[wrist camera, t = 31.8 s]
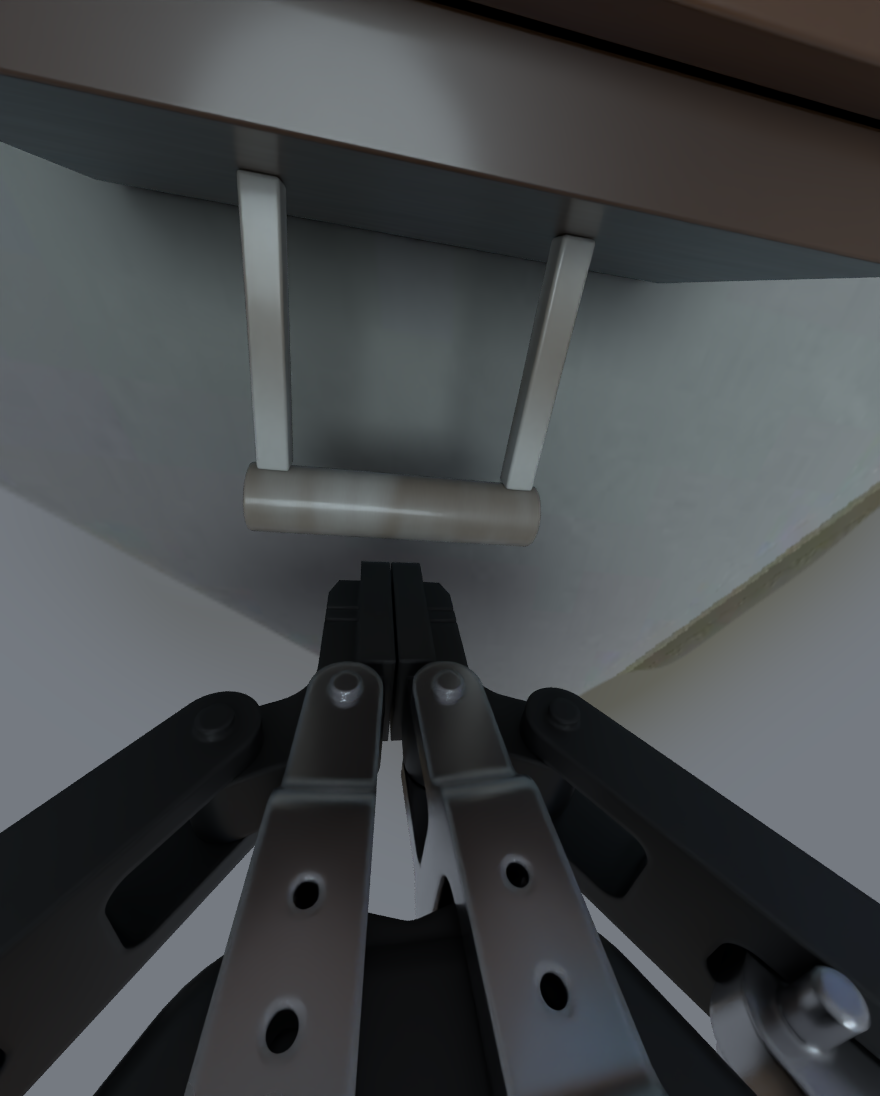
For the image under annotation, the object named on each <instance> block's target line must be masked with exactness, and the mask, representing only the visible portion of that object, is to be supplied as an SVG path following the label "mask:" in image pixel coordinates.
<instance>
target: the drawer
mask: <svg viewBox="0 0 880 1096" xmlns="http://www.w3.org/2000/svg"><path fill="white" fill-rule="evenodd" d="M787 94H789V93H785V92H782V91H779V90H775V89H772V88H768V87H765V86H761V85H758V84H754V83H751V82H748V81H744V80H741V79H737V78H734V77H730V76H727V75H724V74H720V73H717V72H713V71H710V70H706V69H703V68H699V67H696V66H693V65H689V64H686V63H682V62H679V61H675V60H672V59H668V58H665V57H662V56H658V55H655V54H651V53H648V52H644V51H641V50H637V49H634V48H631V47H627V46H624V45H620V44H617V43H613V42H610V41H607V40H603V39H600V38H596V37H593V36H589V35H586V34H582V33H579V32H576V31H572V30H569V29H565V28H562V27H558V26H555V25H551V24H548V23H545V22H541V21H538V20H534V19H531V18H527V17H524V16H520V15H517V14H514V13H510V12H507V11H503V10H500V9H496V8H493V7H490V6H486V5H483V4H479V3H476V2H472V1H469V0H0V141H1V142H3V143H6V144H8V145H11V146H13V147H16V148H18V149H21V150H23V151H26V152H28V153H31V154H33V155H36V156H38V157H41V158H43V159H46V160H48V161H51V162H53V163H56V164H58V165H61V166H63V167H66V168H68V169H71V170H73V171H76V172H78V173H81V174H83V175H86V176H88V177H91V178H93V179H96V180H101V181H107V182H112V183H117V184H123V185H128V186H134V187H139V188H145V189H150V190H155V191H161V192H166V193H172V194H177V195H183V196H188V197H193V198H199V199H204V200H210V201H215V202H221V203H226V204H231V205H237V206H239V219H240V233H241V247H242V262H243V276H244V291H245V305H246V319H247V334H248V348H249V363H250V377H251V391H252V406H253V420H254V435H255V449H256V462H252V463H251V464H250V465H249V467H248V469H247V472H246V476H245V481H244V488H243V511H244V518H245V522H246V525H247V527H248V529H249V530H252V531H264V532H281V533H298V534H316V535H333V536H350V537H368V538H385V539H402V540H420V541H437V542H454V543H471V544H489V545H506V546H523V547H526V546H529V545H530V544H532V542H533V541H534V539H535V537H536V535H537V532H538V529H539V524H540V516H541V504H540V497H539V494H538V491H537V490H536V488H535V487H533V483H534V479H535V475H536V471H537V467H538V463H539V459H540V456H541V452H542V448H543V444H544V440H545V436H546V432H547V428H548V425H549V421H550V417H551V413H552V409H553V405H554V401H555V398H556V394H557V390H558V386H559V382H560V378H561V374H562V370H563V367H564V363H565V359H566V355H567V351H568V347H569V343H570V339H571V336H572V332H573V328H574V324H575V320H576V316H577V312H578V309H579V305H580V301H581V297H582V293H583V289H584V285H585V281H586V278H587V274H588V270H589V271H595V272H600V273H606V274H611V275H617V276H622V277H627V278H633V279H638V280H644V281H649V282H655V283H678V282H715V281H753V280H790V279H828V278H865V277H880V129H877V128H873V127H870V126H866V125H863V124H859V123H856V122H852V121H849V120H845V119H842V118H838V117H835V116H831V115H828V114H824V113H821V112H817V111H814V110H810V109H807V108H803V107H800V106H796V105H793V104H789V103H786V102H782V101H779V100H776V99H779V98H781V97H783V96H785V95H787ZM287 215H291V216H296V217H302V218H307V219H313V220H318V221H324V222H329V223H334V224H340V225H345V226H351V227H356V228H362V229H367V230H372V231H378V232H383V233H389V234H394V235H400V236H405V237H410V238H416V239H421V240H427V241H432V242H438V243H443V244H448V245H454V246H459V247H465V248H470V249H476V250H481V251H486V252H492V253H497V254H503V255H508V256H513V257H519V258H524V259H530V260H535V261H541V262H546V263H547V265H546V270H545V275H544V279H543V284H542V288H541V293H540V298H539V302H538V307H537V311H536V316H535V321H534V325H533V330H532V334H531V339H530V343H529V348H528V353H527V357H526V362H525V366H524V371H523V376H522V380H521V385H520V389H519V394H518V399H517V403H516V408H515V412H514V417H513V422H512V426H511V431H510V435H509V440H508V445H507V449H506V454H505V458H504V463H503V468H502V472H501V477H500V479H501V481H502V483H498V482H486V481H474V480H462V479H451V478H439V477H427V476H415V475H404V474H392V473H380V472H368V471H356V470H345V469H333V468H321V467H309V466H298V465H291V464H292V462H293V436H292V399H291V362H290V324H289V287H288V250H287Z"/></svg>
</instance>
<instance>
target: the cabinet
mask: <svg viewBox="0 0 880 1096" xmlns="http://www.w3.org/2000/svg"><path fill="white" fill-rule="evenodd" d="M469 1H472V2H476V3H479V4H483V5H486V6H490V7H493V8H496V9H500V10H503V11H507V12H510V13H514V14H517V15H520V16H524V17H527V18H531V19H534V20H538V21H541V22H545V23H548V24H551V25H555V26H558V27H562V28H565V29H569V30H572V31H576V32H579V33H582V34H586V35H589V36H593V37H596V38H600V39H603V40H607V41H610V42H613V43H617V44H620V45H624V46H627V47H631V48H634V49H637V50H641V51H644V52H648V53H651V54H655V55H658V56H662V57H665V58H668V59H672V60H675V61H679V62H682V63H686V64H689V65H693V66H696V67H699V68H703V69H706V70H710V71H713V72H717V73H720V74H724V75H727V76H730V77H734V78H737V79H741V80H744V81H748V82H751V83H754V84H758V85H761V86H765V87H768V88H772V89H775V90H779V91H782V92H785V93H789V94H787V95H785V96H783V97H781V98H779V99H776V100H779V101H782V102H786V103H789V104H793V105H796V106H800V107H803V108H807V109H810V110H814V111H817V112H821V113H824V114H828V115H831V116H835V117H838V118H842V119H845V120H849V121H852V122H856V123H859V124H863V125H866V126H870V127H873V128H877V129H880V0H469Z"/></svg>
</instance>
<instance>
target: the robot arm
mask: <svg viewBox="0 0 880 1096" xmlns="http://www.w3.org/2000/svg"><path fill="white" fill-rule="evenodd" d="M389 724H390V728H391V729H390V730H391V740H392V741H393V740H402V746H403V763H402V771H401V778H402V785H403V793H404V800H405V807H406V814H407V822H408V829H409V836H410V843H411V850H412V858H413V865H414V875H415V909H416V919H415V920H411V921H404V920H399V919H395V918H390V917H386V916H381V915H376V914H372V913H368V902H369V889H370V874H371V860H372V847H373V832H374V817H375V804H376V785H377V773H378V771H379V768H380V760H381V750H382V741H388V734H389ZM254 846H255V847H254ZM253 847H254V851H253V855H252V858H251V862H250V865H249V869H248V872H247V876H246V879H245V883H244V886H243V890H242V893H241V897H240V900H239V904H238V907H237V911H236V914H235V918H234V921H233V925H232V928H231V932H230V935H229V939H228V942H227V946H226V950H225V953H224V955H223V956H222V957H220V958H219V959H217V960H216V961H215V962H213V963H212V964H210V965H209V966H208V967H206V968H205V969H204V970H203V971H201V972H200V973H199V974H198V975H197V976H196V977H195V978H193V979H192V980H191V981H190V982H189V983H188V984H187V985H185V986H184V987H183V988H182V989H181V990H180V991H179V992H178V994H177V995H176V996H175V997H174V998H173V999H172V1000H171V1001H170V1002H169V1003H168V1004H167V1005H166V1006H165V1007H164V1008H163V1009H162V1011H161V1012H160V1013H159V1014H158V1015H157V1017H156V1018H155V1019H154V1020H153V1021H152V1022H151V1024H150V1025H149V1026H148V1028H147V1029H146V1030H145V1031H144V1032H143V1034H142V1035H141V1036H140V1038H139V1039H138V1040H137V1041H136V1042H135V1044H134V1045H133V1046H132V1047H131V1049H130V1050H129V1051H128V1052H127V1054H126V1055H125V1056H124V1057H123V1059H122V1060H121V1061H120V1062H119V1064H118V1065H117V1066H116V1067H115V1069H114V1070H113V1071H112V1072H111V1074H110V1075H109V1076H108V1078H107V1079H106V1080H105V1081H104V1082H103V1084H102V1085H101V1086H100V1087H99V1089H98V1090H97V1091H96V1093H95V1094H94V1095H93V1096H880V904H879V903H878V902H876V901H875V900H873V899H872V898H870V897H869V896H868V895H866V894H865V893H863V892H862V891H860V890H859V889H858V888H856V887H854V886H853V885H852V884H850V883H849V882H847V881H846V880H844V879H843V878H842V877H840V876H838V875H837V874H836V873H834V872H833V871H831V870H830V869H829V868H827V867H825V866H824V865H823V864H821V863H820V862H818V861H817V860H815V859H814V858H813V857H811V856H810V855H808V854H807V853H805V852H804V851H802V850H801V849H799V848H798V847H796V846H795V845H794V844H792V843H791V842H789V841H788V840H786V839H785V838H783V837H782V836H780V835H779V834H778V833H776V832H775V831H773V830H772V829H770V828H769V827H768V826H766V825H765V824H763V823H762V822H760V821H759V820H757V819H756V818H754V817H753V816H752V815H750V814H749V813H747V812H746V811H744V810H743V809H741V808H740V807H739V806H737V805H736V804H734V803H733V802H731V801H730V800H728V799H727V798H725V797H724V796H722V795H721V794H720V793H718V792H717V791H715V790H714V789H712V788H711V787H710V786H708V785H707V784H705V783H704V782H702V781H701V780H699V779H698V778H696V777H695V776H694V775H692V774H691V773H689V772H688V771H686V770H685V769H683V768H682V767H680V766H679V765H677V764H676V763H674V762H673V761H672V760H670V759H669V758H667V757H666V756H665V755H663V754H662V753H660V752H659V751H657V750H656V749H654V748H653V747H651V746H650V745H648V744H647V743H646V742H644V741H643V740H641V739H640V738H638V737H637V736H636V735H634V734H633V733H631V732H630V731H628V730H627V729H625V728H624V727H622V726H621V725H619V724H618V723H617V722H615V721H614V720H612V719H611V718H609V717H608V716H607V715H605V714H604V713H602V712H601V711H599V710H598V709H596V708H595V707H593V706H592V705H591V704H589V703H588V702H586V701H585V700H583V699H582V698H580V697H579V696H577V695H575V694H574V693H571V692H569V691H567V690H564V689H559V688H552V687H550V688H542V689H539V690H537V691H535V692H533V693H532V694H531V695H530V696H529V698H528V700H527V701H523V700H519V699H515V698H511V697H507V696H503V695H500V694H497V693H495V692H493V691H490V690H489V689H487V688H485V687H484V686H483V685H482V683H481V681H480V679H479V677H478V676H477V675H476V674H475V673H474V672H473V671H472V670H470V669H469V668H468V665H467V661H466V657H465V653H464V649H463V645H462V641H461V637H460V633H459V629H458V625H457V623H456V617H455V613H454V611H453V605H452V601H451V597H450V594H449V593H448V592H447V591H446V590H445V589H444V588H443V587H442V586H441V584H440V583H433V582H423V579H422V573H421V568H420V564H419V563H400V562H392V563H391V569H390V563H389V562H368V561H361V580H360V581H355V580H339V581H338V582H337V583H336V585H335V586H334V587H333V588H332V589H331V590H330V592H329V595H328V602H327V609H326V616H325V622H324V629H323V636H322V643H321V650H320V657H319V664H318V669H317V672H316V674H315V675H314V676H313V677H312V679H311V680H310V682H309V684H308V685H307V686H306V687H305V688H304V689H302V690H301V691H300V692H298V693H296V694H295V695H292V696H290V697H288V698H285V699H282V700H279V701H276V702H272V703H268V704H265V705H262V706H259V705H258V704H257V702H256V701H255V700H254V699H253V698H251V697H250V696H248V695H246V694H242V693H239V692H229V691H225V692H218V693H213V694H209V695H206V696H203V697H201V698H199V699H197V700H195V701H194V702H192V703H190V704H189V705H187V706H186V707H184V708H183V709H181V710H180V711H178V712H177V713H175V714H174V715H172V716H171V717H170V718H168V719H167V720H165V721H164V722H162V723H161V724H159V725H158V726H156V727H155V728H153V729H152V730H151V731H149V732H148V733H146V734H145V735H144V736H142V737H140V738H139V739H137V740H136V741H134V742H133V743H132V744H130V745H129V746H127V747H126V748H124V749H123V750H121V751H120V752H118V753H117V754H115V755H114V756H112V757H111V758H110V759H108V760H107V761H105V762H104V763H102V764H101V765H99V766H98V767H97V768H95V769H93V770H92V771H91V772H89V773H88V774H86V775H85V776H83V777H82V778H80V779H79V780H77V781H76V782H74V783H73V784H71V785H70V786H69V787H67V788H66V789H64V790H63V791H61V792H60V793H58V794H57V795H56V796H54V797H52V798H51V799H50V800H48V801H47V802H45V803H44V804H42V805H41V806H39V807H38V808H36V809H35V810H33V811H32V812H30V813H29V814H28V815H26V816H25V817H23V818H22V819H20V820H19V821H17V822H16V823H14V824H13V825H11V826H10V827H9V828H7V829H6V830H4V831H3V832H1V833H0V1096H23V1095H24V1094H25V1093H26V1092H27V1091H28V1090H29V1089H30V1088H31V1087H32V1085H33V1084H34V1083H35V1082H36V1081H37V1080H38V1079H39V1078H40V1077H41V1076H42V1075H43V1074H44V1072H45V1071H46V1070H47V1069H48V1068H49V1067H50V1066H51V1065H52V1064H53V1063H54V1062H55V1061H56V1059H58V1057H59V1056H60V1055H61V1054H62V1053H63V1052H64V1051H65V1050H66V1049H67V1048H68V1047H69V1045H70V1044H71V1043H72V1042H73V1041H74V1040H75V1039H76V1038H77V1037H78V1036H79V1034H81V1033H82V1031H83V1030H84V1029H85V1028H86V1027H87V1026H88V1025H89V1024H90V1023H91V1022H92V1020H94V1018H95V1017H96V1016H97V1015H98V1014H99V1013H100V1012H101V1011H102V1010H103V1009H104V1008H105V1007H106V1005H107V1004H108V1003H109V1002H110V1001H111V1000H112V999H113V998H114V997H115V996H116V995H117V994H118V992H119V991H120V990H121V989H122V988H123V987H124V986H125V985H126V984H127V983H128V982H129V981H130V980H131V978H132V977H133V976H134V975H135V974H136V973H137V972H138V971H139V970H140V969H141V968H142V967H143V966H144V964H145V963H146V962H147V961H148V960H149V959H150V958H151V957H152V956H153V955H154V954H155V953H156V951H157V950H158V949H159V948H160V947H161V946H162V945H163V944H164V943H165V942H166V941H167V939H169V937H170V936H171V935H172V934H173V933H174V932H175V931H176V930H177V929H178V928H179V927H180V925H181V924H182V923H183V922H184V921H185V920H186V919H187V918H188V917H189V916H190V915H191V914H192V913H193V911H194V910H195V909H196V908H197V907H198V906H199V905H200V904H201V903H202V902H203V901H204V899H205V898H206V897H207V896H208V895H209V894H210V893H211V892H212V891H213V890H214V889H215V888H216V887H217V886H218V884H219V883H220V882H221V881H222V880H223V879H224V878H225V877H226V876H227V875H228V874H229V873H230V871H231V870H232V869H233V868H234V867H235V866H236V865H237V864H238V863H239V862H240V861H241V860H242V858H243V857H244V856H245V855H246V854H247V853H248V852H249V851H250V850H251V849H252V848H253ZM581 893H582V894H584V895H585V896H586V897H587V898H588V899H589V900H590V901H591V902H592V903H593V904H594V905H595V906H596V907H597V908H598V909H599V910H600V911H601V912H602V913H603V914H604V915H605V916H606V917H607V918H608V919H609V920H610V921H611V922H612V923H613V924H615V926H617V927H618V928H619V929H620V930H621V931H622V932H623V933H624V934H625V935H626V936H627V937H628V938H629V939H630V940H631V941H632V942H633V943H634V944H635V945H636V946H637V947H638V948H639V949H640V950H642V952H643V953H644V954H645V955H646V956H647V957H648V958H650V959H651V960H652V961H653V962H654V963H655V964H656V965H657V966H658V967H659V968H660V969H661V970H662V971H663V972H664V973H665V974H666V975H667V976H668V977H669V978H670V979H671V980H672V981H673V982H674V983H675V984H676V985H677V986H678V987H679V988H680V989H681V990H683V992H685V993H686V994H687V995H688V996H689V997H690V998H691V999H692V1000H693V1001H694V1002H695V1003H696V1004H697V1005H698V1006H699V1007H700V1008H701V1009H702V1010H703V1011H704V1012H705V1013H706V1014H707V1015H708V1016H709V1017H710V1018H711V1024H712V1028H713V1032H714V1036H715V1039H716V1041H717V1043H716V1049H717V1052H716V1051H715V1050H714V1049H713V1048H712V1047H711V1046H710V1045H709V1044H708V1043H707V1042H706V1041H705V1040H704V1039H703V1038H702V1037H701V1036H700V1034H698V1033H697V1031H696V1030H695V1029H694V1028H693V1027H692V1026H691V1025H690V1024H689V1023H688V1022H687V1021H686V1020H685V1019H684V1018H683V1017H682V1016H681V1014H680V1013H679V1012H678V1011H677V1010H676V1009H675V1008H674V1007H673V1006H672V1005H671V1004H670V1003H669V1002H668V1001H667V1000H666V999H665V998H664V997H663V996H662V995H661V993H660V992H659V991H658V990H657V989H656V988H655V987H654V986H653V985H652V984H651V983H650V982H649V981H648V980H647V979H646V978H645V977H644V976H643V975H642V973H641V972H640V971H639V970H638V969H637V968H636V967H635V966H634V965H633V964H632V963H631V962H630V961H629V960H628V959H627V958H626V957H625V956H624V955H623V954H622V953H621V952H620V951H619V950H618V949H617V948H616V947H615V946H614V945H613V944H611V943H610V942H609V941H608V940H607V939H605V938H604V937H603V936H602V935H601V934H599V933H598V932H597V930H596V928H595V926H594V923H593V921H592V918H591V916H590V913H589V911H588V908H587V906H586V903H585V901H584V898H583V896H582V894H581Z"/></svg>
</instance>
